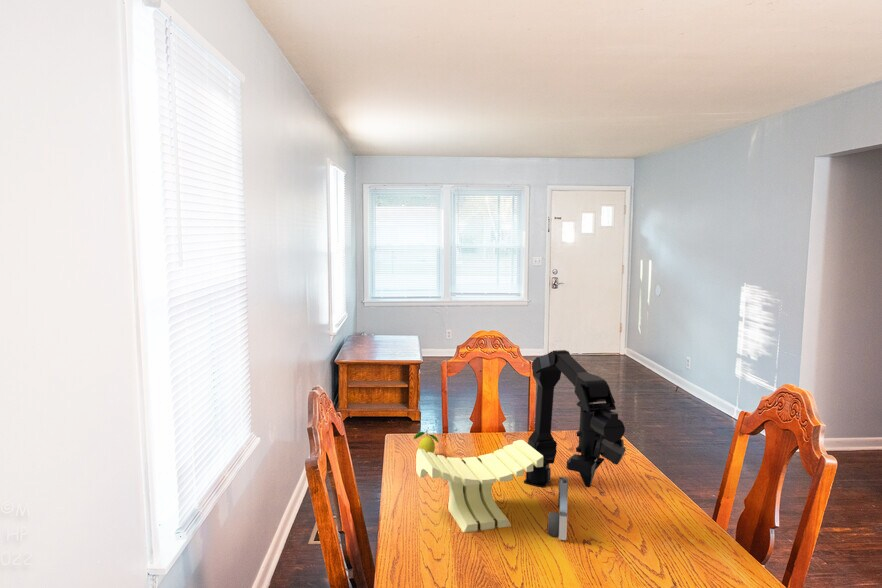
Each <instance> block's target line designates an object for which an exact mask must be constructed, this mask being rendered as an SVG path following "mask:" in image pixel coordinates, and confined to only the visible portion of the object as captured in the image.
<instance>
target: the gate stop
mask: <svg viewBox="0 0 882 588" xmlns="http://www.w3.org/2000/svg"><path fill="white" fill-rule="evenodd" d="M559 518H560V512H556V511H550V512H549V513H548V518H547V519H548V521H547V522H548V524H547V535H548V536H550V537H553V538H557V537H558V538H559Z"/></svg>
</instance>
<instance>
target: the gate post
mask: <svg viewBox="0 0 882 588" xmlns="http://www.w3.org/2000/svg"><path fill="white" fill-rule="evenodd" d="M560 483H567V494H568V490H569V488H568V486H569V479H568V478H567V477H565V476H564V477H563V476H560V477H559V478H558V501H557V502H558V503H557V506H558V508H559V509H560Z"/></svg>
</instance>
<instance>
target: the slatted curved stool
mask: <svg viewBox="0 0 882 588" xmlns="http://www.w3.org/2000/svg"><path fill="white" fill-rule="evenodd" d="M415 457H416V458H415V459H416V462H415V465H416V466H415V467H416V468H415V469H416V471H415V472H416V474H417V475H418V477H419V479H421V478H423V477H424V478H425V477H427V476H428V475H429V476H430V477H431V479H439V478H440V479H441V480H442V481H443V482H446V481H447V484H448V488H449V498H448V504H447V505H448V506H447V508H448V511H449V513H450V514H451V516H452V517H453V518H454V521H455V522H456V523H457V525H458V527H459V529H460V530H461V531H462V533H470V532H478V530H480V531H484V530H485V531H486V530H493V529H496V527H497V528H498V529H501V528H507V527H512V525H511V523H510V521H509V519H508V517H507V516H506V515H505V514H504V513H503V511H502V510H501V509H500V508H499V506H498V505H497V503H496V501H495V500H494V497H493V493H492V486H493V484H494V483H496V482H497V481H498V482H499V483H503V482H510V481H512V482H513V481H514V476H515V477H523V476H524V471H525V473H526V472H531V471H533V465H534V466H535V467H543V455H541V454H540V453H539V452H538V451H536V450H535V449H534V448H532V447H531V446H530V445H529V444H528V442H526V441H525V440H524V439H518V440H514V441H513V442H512V443H511V444H508V445H507V444H506V445H504V446H503V448H500V449H497V450H494V451H493V453H492V452H491V453H490V452H489V453H486V454H480V455H478V457H476V456H469V457H468V456H467V457H462V459H461V457H449V456H447V457H445V456H444V455H441V454H437V455H436V453H435V452H434V453H432V452H428V453H426V451H425V450H424V449H419V448H418V449H417V451H416V456H415Z"/></svg>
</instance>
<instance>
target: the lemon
mask: <svg viewBox="0 0 882 588" xmlns="http://www.w3.org/2000/svg"><path fill="white" fill-rule="evenodd" d="M425 433H426V435H425ZM424 435H425V436H424ZM422 436H423V437H422ZM420 437H422V438H421V439H420V440H419V443H418V449H424V450H425V451H426V453H428V452H432V453H434V454H435V450H436V445H435V441H436V442H437V443H439V439H438V438H437V436H435V435H434V434H428V430H426V431H418V432H417V433H416V434H415V435H414V437H413V440H416V439H418V438H420Z"/></svg>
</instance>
